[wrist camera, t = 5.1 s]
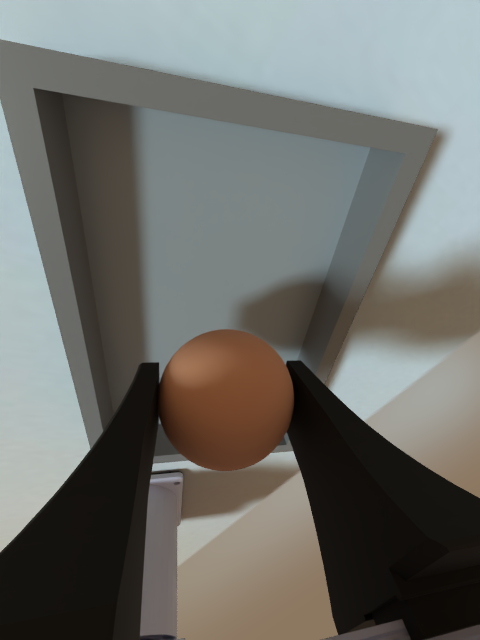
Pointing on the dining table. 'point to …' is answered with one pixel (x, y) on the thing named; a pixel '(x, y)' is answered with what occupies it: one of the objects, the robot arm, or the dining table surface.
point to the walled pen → (196, 214)
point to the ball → (225, 400)
